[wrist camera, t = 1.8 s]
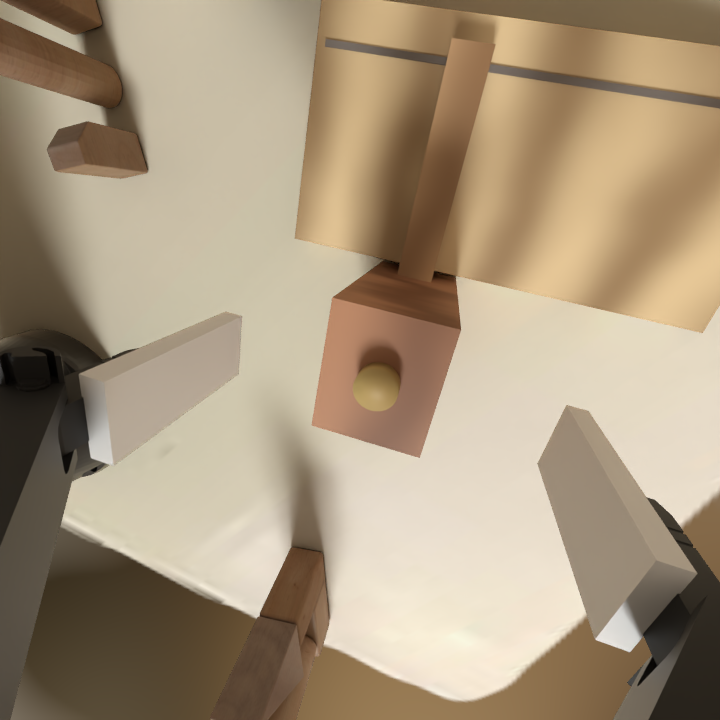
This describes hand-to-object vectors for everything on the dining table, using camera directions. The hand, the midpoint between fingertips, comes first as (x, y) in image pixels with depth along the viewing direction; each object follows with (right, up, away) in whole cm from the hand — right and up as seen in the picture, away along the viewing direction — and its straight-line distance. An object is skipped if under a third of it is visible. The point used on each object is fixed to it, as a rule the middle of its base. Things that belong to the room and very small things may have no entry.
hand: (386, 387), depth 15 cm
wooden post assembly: (-6, -23, +25) cm, 34 cm away
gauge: (+3, +9, +9) cm, 13 cm away
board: (+8, +12, +7) cm, 16 cm away
